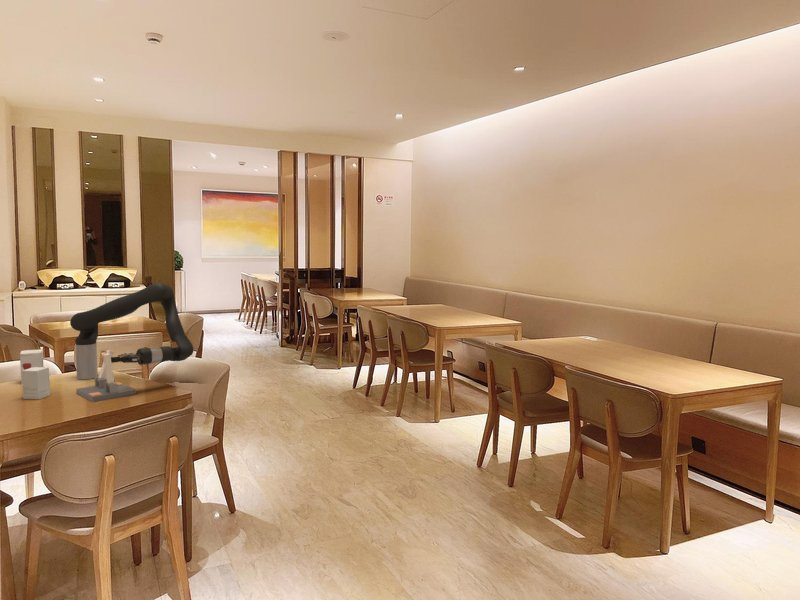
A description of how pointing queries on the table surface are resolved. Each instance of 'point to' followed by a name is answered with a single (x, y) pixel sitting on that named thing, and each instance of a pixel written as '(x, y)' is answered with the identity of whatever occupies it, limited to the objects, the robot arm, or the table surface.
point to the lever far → (102, 372)
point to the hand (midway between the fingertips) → (109, 360)
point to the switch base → (105, 391)
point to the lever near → (108, 369)
